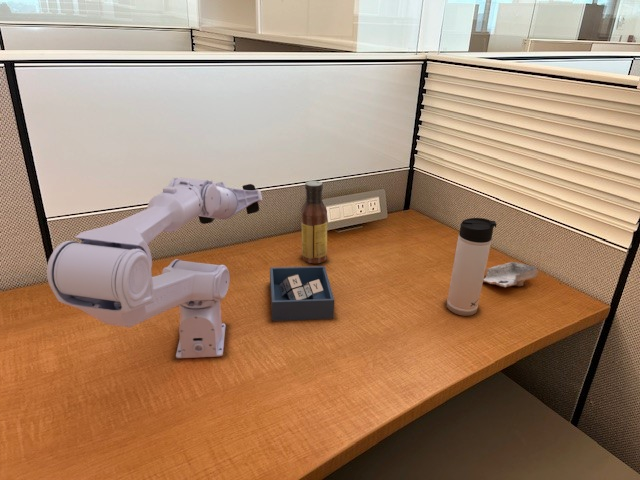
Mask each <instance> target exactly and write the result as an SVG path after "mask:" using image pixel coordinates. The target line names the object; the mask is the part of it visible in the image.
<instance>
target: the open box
mask: <svg viewBox="0 0 640 480" xmlns="http://www.w3.org/2000/svg"><path fill="white" fill-rule="evenodd" d="M296 274H298V275H299V277H300V280H301V282H302V285H304V284H306V283H307V282H309V281H312V280H316V279H319V280H320V282H321V285H322V287H323V290H324V291H322V292H321V293H319V294H318V295H316V296H315V297H314V298H311V299H307V300H289V297H288V295H286V296H282V294H281V292H280V289H279V286H278V285H279V284H280V283H281V282H282V281H283V280H284V279H285V278H287V277H289V276H293V275H296ZM269 289H270V307H271V309H270V310H271V322H285V321H286V322H287V321H308V320H309V321H311V320H333V319H334V315H335V314H334V313H335V297H334V294H333V290H332V287H331V283H330V279H329V275H328V272H327V268H326V266H325V265H317V266H316V265H315V266H277V267H269Z"/></svg>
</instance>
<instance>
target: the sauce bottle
mask: <svg viewBox="0 0 640 480" xmlns="http://www.w3.org/2000/svg"><path fill="white" fill-rule="evenodd" d="M323 184H324V183H323V182H322V181H319V180H308V181H306V182H305V185H304V188H305V202H304V204H303V205H302V207H301V223H300V224H301V255H302V259H303V261H304V262H305V263H307V264H313V265H318V264H322V263H325V262H326V261H327V257H328V216H327V215H328V214H327V213H328V210H327V208H326V206H325V204H324V201H323V188H324V185H323Z"/></svg>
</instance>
